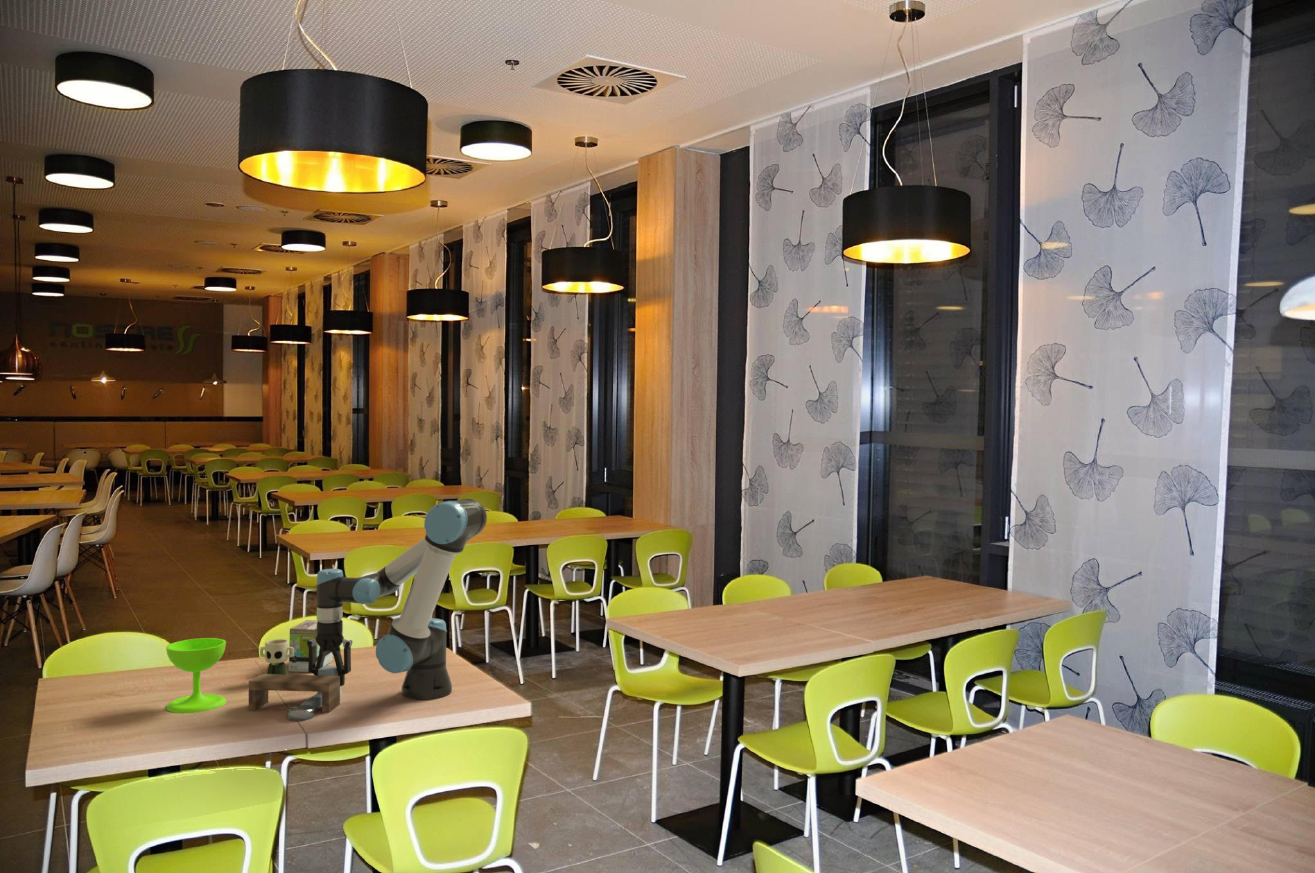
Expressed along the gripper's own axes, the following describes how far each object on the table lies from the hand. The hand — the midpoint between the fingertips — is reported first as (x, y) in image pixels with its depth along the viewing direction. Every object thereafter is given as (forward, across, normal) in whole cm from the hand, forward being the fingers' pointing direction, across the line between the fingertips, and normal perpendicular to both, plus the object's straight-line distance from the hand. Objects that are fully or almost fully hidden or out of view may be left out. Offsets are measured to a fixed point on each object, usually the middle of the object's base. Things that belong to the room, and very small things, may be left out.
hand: (329, 695), depth 289 cm
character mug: (+1, +24, -15) cm, 28 cm away
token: (0, 0, +20) cm, 20 cm away
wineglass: (+1, +36, +11) cm, 38 cm away
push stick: (0, 0, +7) cm, 7 cm away
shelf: (0, +6, +11) cm, 12 cm away
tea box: (+1, +21, -34) cm, 40 cm away
